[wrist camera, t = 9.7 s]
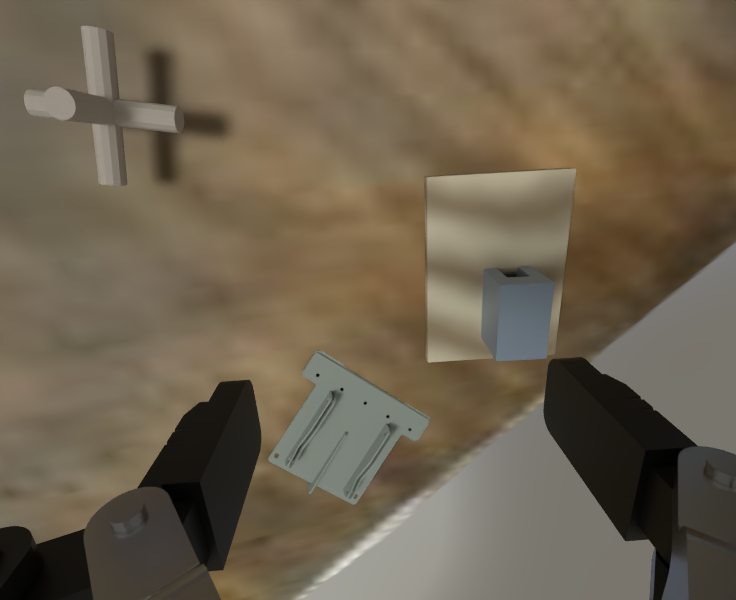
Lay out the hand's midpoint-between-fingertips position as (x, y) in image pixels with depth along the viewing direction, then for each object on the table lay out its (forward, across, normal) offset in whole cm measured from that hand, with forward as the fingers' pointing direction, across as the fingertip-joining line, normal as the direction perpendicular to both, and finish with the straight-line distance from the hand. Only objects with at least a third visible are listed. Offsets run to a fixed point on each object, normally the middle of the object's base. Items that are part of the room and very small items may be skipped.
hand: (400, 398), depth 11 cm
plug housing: (+27, -13, +8) cm, 31 cm away
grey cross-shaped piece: (+28, +18, -10) cm, 35 cm away
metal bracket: (+28, +4, +22) cm, 36 cm away
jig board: (+28, -12, +5) cm, 31 cm away
